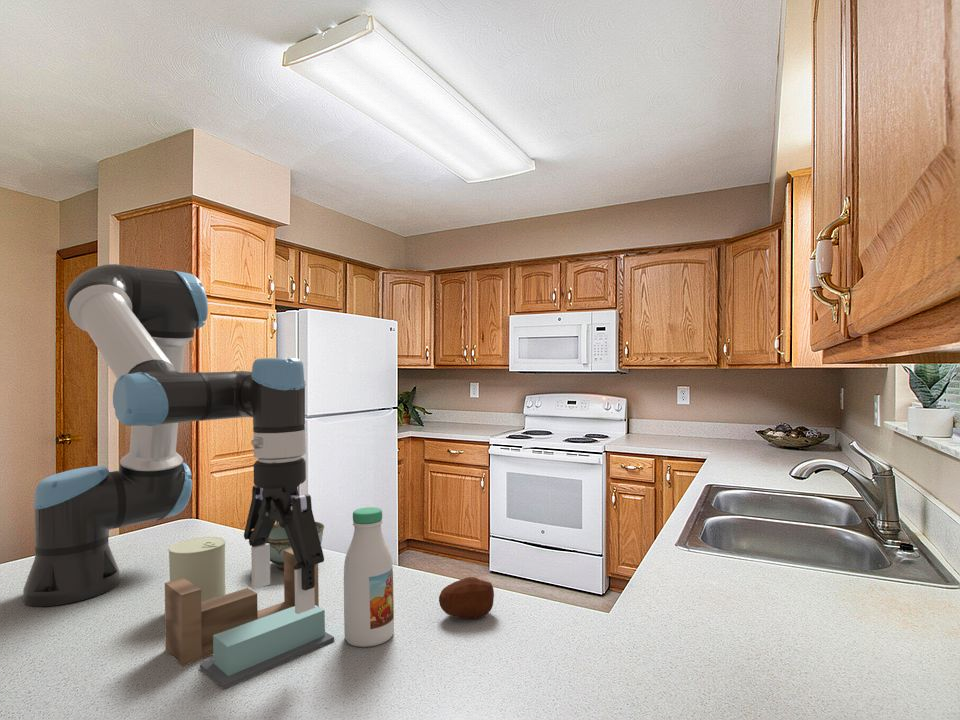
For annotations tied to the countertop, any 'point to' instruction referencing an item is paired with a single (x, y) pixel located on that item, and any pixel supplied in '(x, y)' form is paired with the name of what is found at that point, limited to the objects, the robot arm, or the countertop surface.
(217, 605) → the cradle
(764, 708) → the countertop surface
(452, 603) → the potato
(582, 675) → the countertop surface
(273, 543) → the bowl
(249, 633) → the slab
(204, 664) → the mat
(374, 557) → the milk bottle
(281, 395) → the robot arm
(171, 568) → the can
